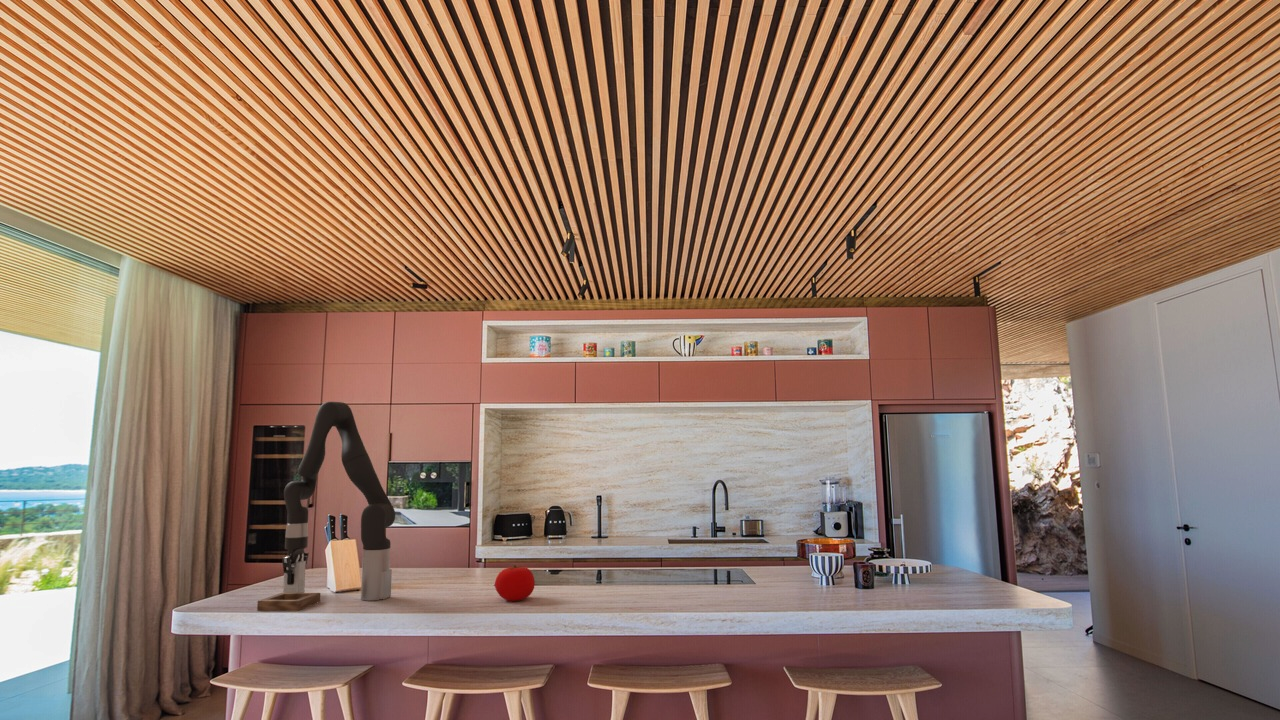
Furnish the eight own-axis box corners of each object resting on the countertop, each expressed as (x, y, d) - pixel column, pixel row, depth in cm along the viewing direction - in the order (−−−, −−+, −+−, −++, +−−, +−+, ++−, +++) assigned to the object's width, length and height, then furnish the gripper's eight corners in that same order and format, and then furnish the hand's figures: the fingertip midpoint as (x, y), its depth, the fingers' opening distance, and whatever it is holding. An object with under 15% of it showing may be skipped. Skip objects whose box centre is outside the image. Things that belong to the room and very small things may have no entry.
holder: (320, 601, 245) (320, 592, 246) (297, 610, 231) (298, 601, 232) (281, 601, 246) (282, 592, 247) (257, 610, 232) (257, 600, 233)
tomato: (529, 603, 238) (529, 568, 240) (490, 603, 240) (490, 568, 241) (539, 596, 251) (539, 562, 252) (501, 595, 253) (502, 562, 254)
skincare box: (304, 594, 259) (306, 560, 261) (298, 596, 255) (299, 562, 256) (289, 593, 260) (290, 560, 261) (282, 596, 255) (284, 562, 257)
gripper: (295, 537, 253) (293, 587, 251) (316, 533, 267) (314, 579, 265) (275, 537, 253) (272, 586, 251) (297, 533, 267) (295, 579, 265)
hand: (294, 583), depth 258 cm, fingers closed on skincare box, 4 cm apart
